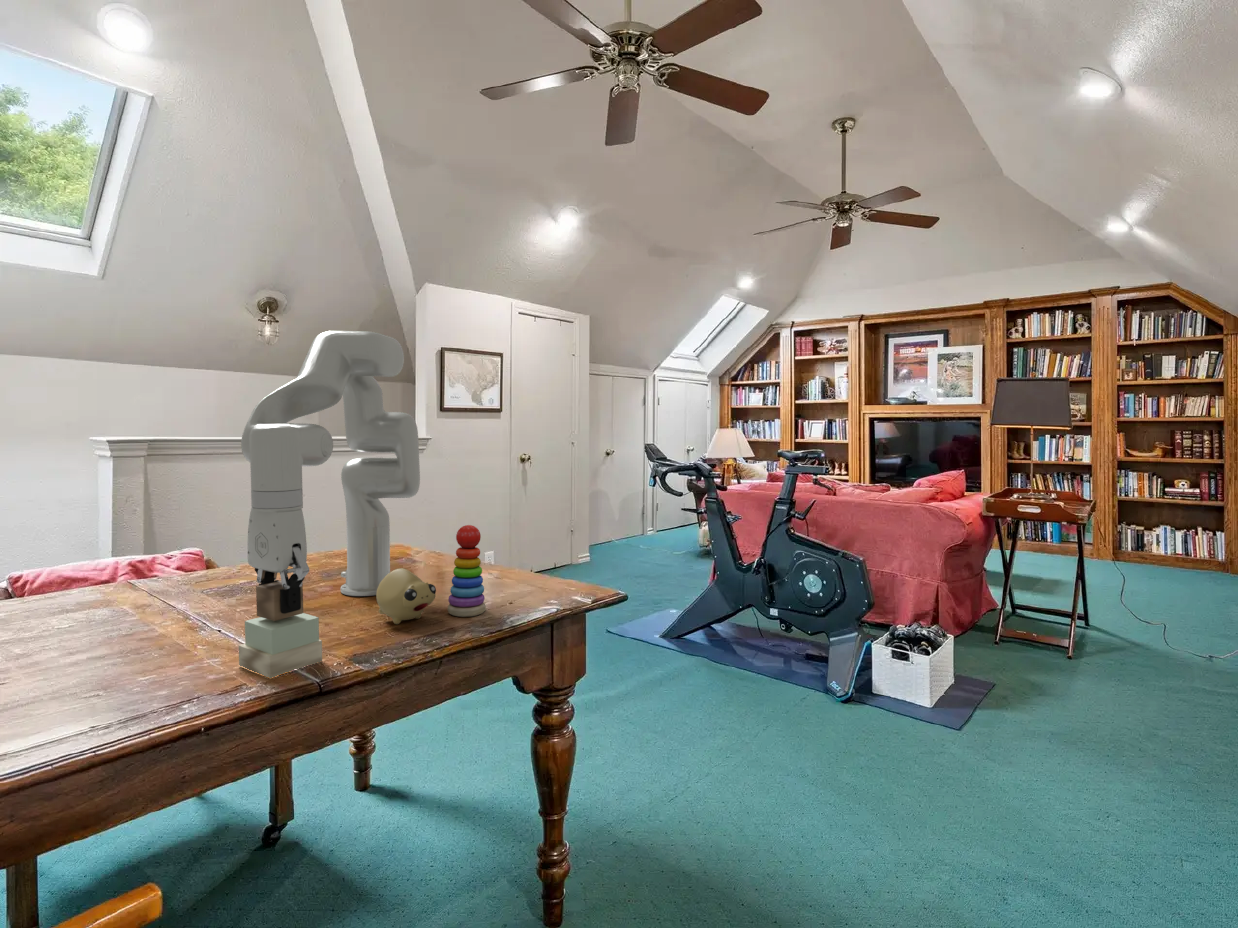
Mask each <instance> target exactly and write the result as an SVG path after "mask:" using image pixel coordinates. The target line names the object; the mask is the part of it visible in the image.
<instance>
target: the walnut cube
mask: <svg viewBox="0 0 1238 928" xmlns="http://www.w3.org/2000/svg"><path fill="white" fill-rule="evenodd" d="M280 589H283V586H282V581H281V580H279V581H278V582H273V583H268V584H264V585H259V584H258V585H257V586H255V592H256V593H255V594H256V598H255V600H256V617H258V618H259V617H262V618H266V619H269V620H273V621H276V620H280V619H284V618H287V617H291V616H295V615H299V614H302V613H304V592H303V591H304V590H303V589H304V585H302V586H301V609H300V610H297V611H293V612H289V613H285V614H283V613H281V606H280Z"/></svg>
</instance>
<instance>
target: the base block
mask: <svg viewBox="0 0 1238 928" xmlns="http://www.w3.org/2000/svg"><path fill="white" fill-rule="evenodd" d="M320 661H322V662H323V640H322V639H319V641H317V642H313V643H310V644H307V645H303V646H300V647H297V648H293V649H290V650H287V651H283V652H280V653H277V654H274V655H271V654H269V653H266V652H263V651H261V650H258V649H255V648H253V647H250V646H247V645H245V643H242V644H239V645H238V666H239V665H240V666H243V667H245V668H247V669H249V670H252V671H254V672H257V673H259V674H262V675H264V676H266V677H269V678H272V677H275V676H277V675H280V674H283V673H285V672H289V671H291V670H294V669H298V668H302V667H304V666H307V665H311V664H314V665H316V664H315V663H317V662H319V663H321V662H320ZM317 664H318V663H317ZM311 666H312V665H311ZM302 669H303V668H302ZM266 677H265V678H266Z"/></svg>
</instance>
